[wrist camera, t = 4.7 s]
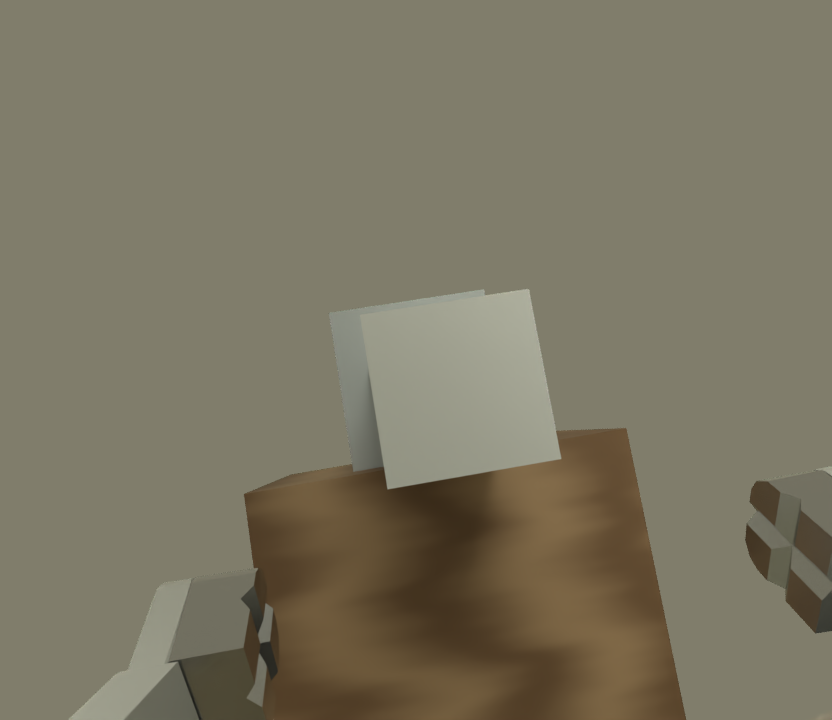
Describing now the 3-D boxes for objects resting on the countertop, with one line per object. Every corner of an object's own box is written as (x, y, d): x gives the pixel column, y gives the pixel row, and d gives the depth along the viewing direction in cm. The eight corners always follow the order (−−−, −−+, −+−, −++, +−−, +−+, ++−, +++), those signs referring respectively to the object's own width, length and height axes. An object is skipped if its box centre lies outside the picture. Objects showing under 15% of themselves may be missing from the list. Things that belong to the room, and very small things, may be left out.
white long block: (613, 449, 14) (559, 181, 15) (331, 498, 14) (289, 218, 14) (486, 443, 31) (464, 317, 32) (358, 465, 30) (338, 336, 31)
